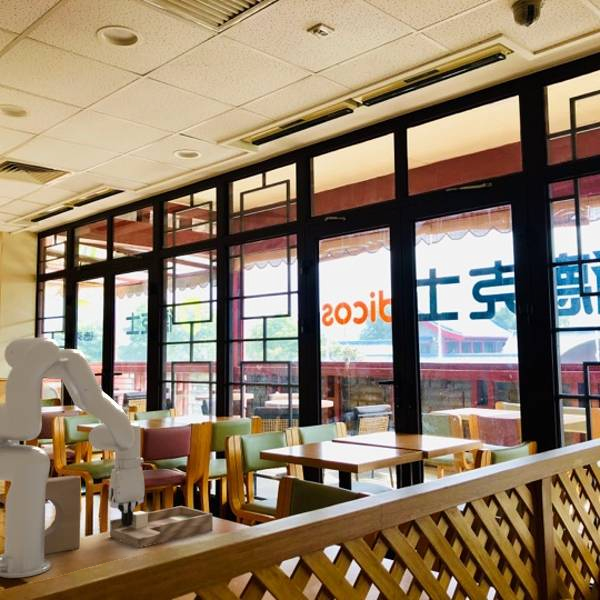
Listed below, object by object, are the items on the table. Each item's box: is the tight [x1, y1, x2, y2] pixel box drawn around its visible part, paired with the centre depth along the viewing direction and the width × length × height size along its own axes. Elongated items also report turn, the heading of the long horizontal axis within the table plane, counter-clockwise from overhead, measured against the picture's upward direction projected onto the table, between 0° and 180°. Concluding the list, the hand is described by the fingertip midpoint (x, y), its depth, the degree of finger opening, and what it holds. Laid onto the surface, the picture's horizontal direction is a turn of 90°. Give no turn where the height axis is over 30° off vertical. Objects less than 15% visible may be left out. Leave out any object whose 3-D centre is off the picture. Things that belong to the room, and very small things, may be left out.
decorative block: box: [44, 474, 82, 556], centre depth 186 cm, size 11×6×20 cm, turn 128°
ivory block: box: [130, 510, 149, 529], centre depth 201 cm, size 4×4×4 cm
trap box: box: [109, 505, 214, 548], centre depth 201 cm, size 26×17×5 cm, turn 135°
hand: (127, 525), depth 197 cm, fingers closed
